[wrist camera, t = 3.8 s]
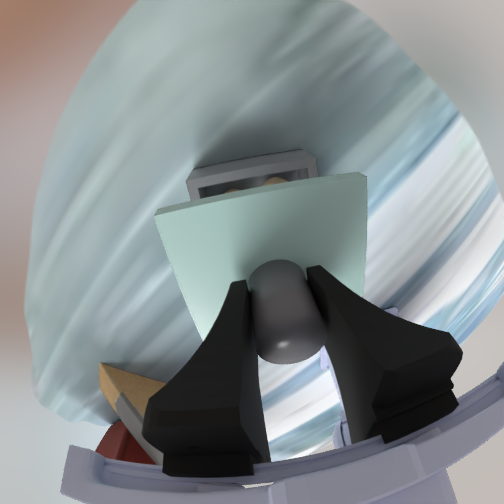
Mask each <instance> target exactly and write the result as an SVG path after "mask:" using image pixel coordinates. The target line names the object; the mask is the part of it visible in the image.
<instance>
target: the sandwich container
mask: <svg viewBox="0 0 504 504" xmlns="http://www.w3.org/2000/svg"><path fill="white" fill-rule="evenodd" d="M99 382H100V389H101V391H102V392H103V394H104V395H105V397H106V398H107V400H108V402H109V403H110V405H111V406H112V408H113V409H114V410H115V412H116V413H117V415H118V416H119V418H120V419H121V420H122V422H123V423H124V425H125V426H126V427H127V429H128V430H129V431H130V433H131V434H132V435H133V437H134V438H135V439H136V440H137V442H138V443H139V444H140V446H141V447H142V448H143V449H144V450H145V452H146V453H147V454H148V455H149V456H150V457H151V459H152V460H153V461H154V462H155V463H156V464H157V465H160V466H163V453H162V452H160V451H159V450H157V449H156V448H154V447H153V446H152V445H150V444H149V443H148V442H147V441H146V440H145V439H144V438H143V437H142V434H141V432H142V426H143V419H144V413H145V409H146V406H147V403H148V399H149V398H150V397H151V396H153V395H154V394H155V393H156V392H158V391H159V390H160V389H161V388H162V387H164V386H165V385H166V384H167V383H164V382H160V381H157V380H153V379H149V378H146V377H143V376H139V375H136V374H133V373H129V372H126V371H123V370H120V369H117V368H114V367H111V366H109V365H106V364H103V363H100V365H99Z"/></svg>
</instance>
